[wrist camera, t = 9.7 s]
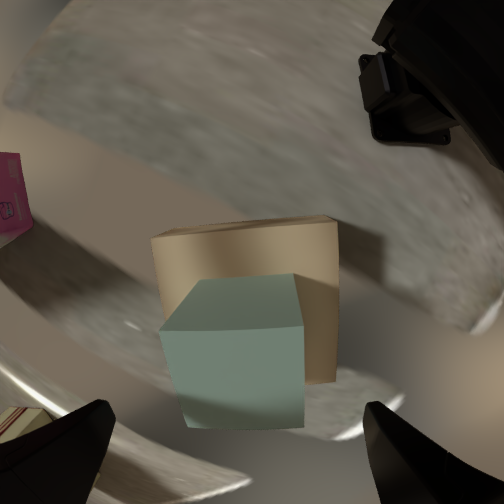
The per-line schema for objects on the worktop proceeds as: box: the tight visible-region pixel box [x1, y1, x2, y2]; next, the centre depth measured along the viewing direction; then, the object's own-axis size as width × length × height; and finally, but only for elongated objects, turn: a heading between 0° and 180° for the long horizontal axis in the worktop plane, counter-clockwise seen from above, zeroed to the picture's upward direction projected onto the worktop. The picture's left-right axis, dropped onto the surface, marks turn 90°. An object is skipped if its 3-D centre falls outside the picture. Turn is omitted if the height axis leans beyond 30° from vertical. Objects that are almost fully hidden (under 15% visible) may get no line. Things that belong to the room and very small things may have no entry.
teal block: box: [159, 273, 305, 430], centre depth 13 cm, size 5×5×6 cm
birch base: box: [150, 215, 339, 385], centre depth 17 cm, size 10×10×4 cm
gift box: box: [0, 407, 100, 492], centre depth 20 cm, size 17×18×17 cm
